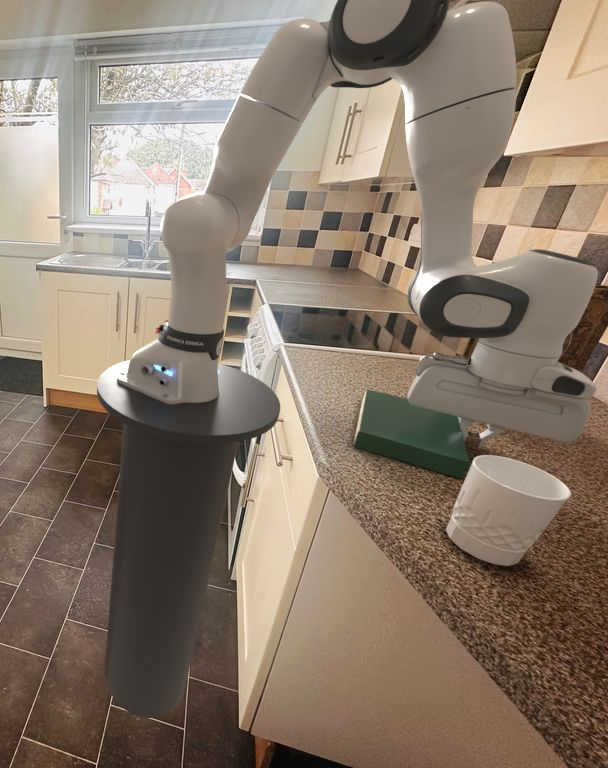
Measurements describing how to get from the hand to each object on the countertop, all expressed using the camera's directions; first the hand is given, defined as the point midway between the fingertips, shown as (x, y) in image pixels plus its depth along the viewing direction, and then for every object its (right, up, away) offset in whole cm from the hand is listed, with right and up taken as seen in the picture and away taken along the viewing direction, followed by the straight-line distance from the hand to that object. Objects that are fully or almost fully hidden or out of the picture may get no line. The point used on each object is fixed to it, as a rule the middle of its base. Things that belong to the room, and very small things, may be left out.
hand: (469, 444), depth 67 cm
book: (+19, +4, +15) cm, 24 cm away
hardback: (-7, +1, +5) cm, 9 cm away
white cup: (-15, -9, -18) cm, 25 cm away
